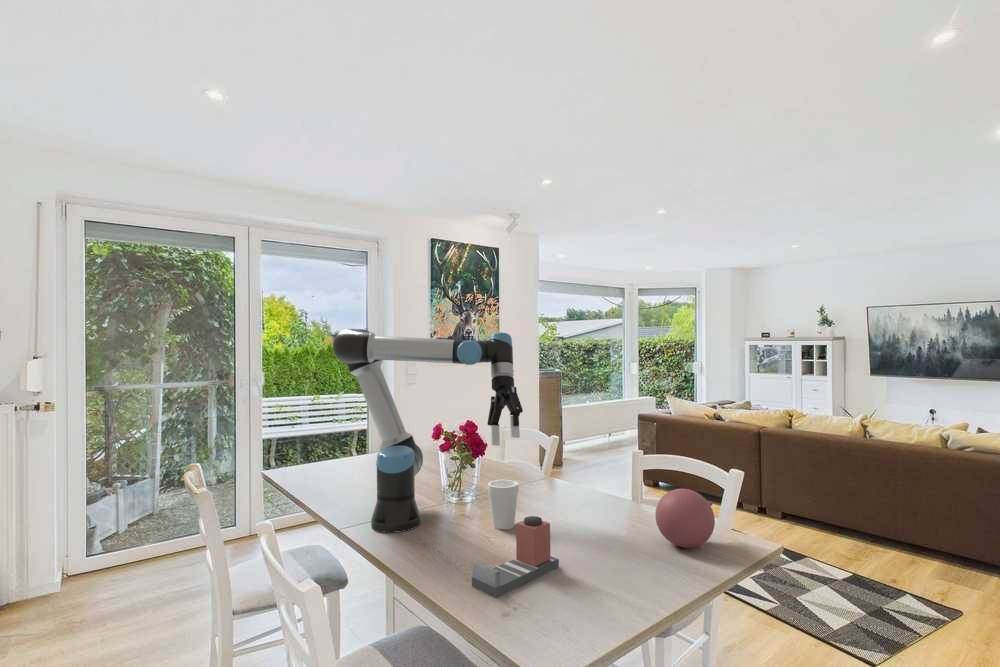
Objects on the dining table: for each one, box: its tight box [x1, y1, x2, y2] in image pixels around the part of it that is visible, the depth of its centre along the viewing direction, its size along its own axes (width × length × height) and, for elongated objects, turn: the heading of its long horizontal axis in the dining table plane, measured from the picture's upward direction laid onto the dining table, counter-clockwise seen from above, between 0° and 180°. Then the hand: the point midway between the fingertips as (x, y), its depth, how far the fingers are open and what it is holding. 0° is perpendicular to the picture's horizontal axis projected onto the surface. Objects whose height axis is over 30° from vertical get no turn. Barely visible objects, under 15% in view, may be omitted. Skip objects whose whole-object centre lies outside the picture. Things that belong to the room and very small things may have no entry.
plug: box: [515, 515, 551, 567], centre depth 130 cm, size 6×6×10 cm
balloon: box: [655, 488, 716, 549], centre depth 145 cm, size 15×20×15 cm
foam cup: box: [487, 479, 519, 530], centre depth 161 cm, size 10×9×13 cm
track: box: [471, 556, 560, 598], centre depth 126 cm, size 22×8×5 cm, turn 135°
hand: (505, 441), depth 167 cm, fingers open, 13 cm apart
